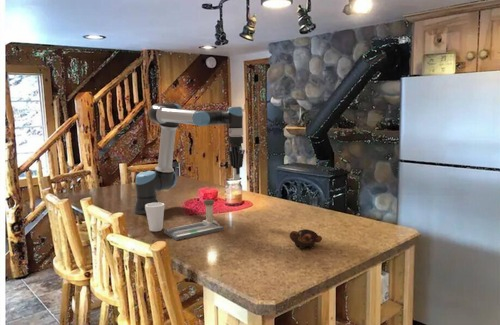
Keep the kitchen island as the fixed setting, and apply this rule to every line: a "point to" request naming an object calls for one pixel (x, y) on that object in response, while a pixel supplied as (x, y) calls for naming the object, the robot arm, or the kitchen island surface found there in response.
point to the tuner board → (192, 230)
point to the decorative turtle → (305, 238)
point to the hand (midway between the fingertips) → (236, 179)
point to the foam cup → (155, 215)
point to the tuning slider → (209, 213)
